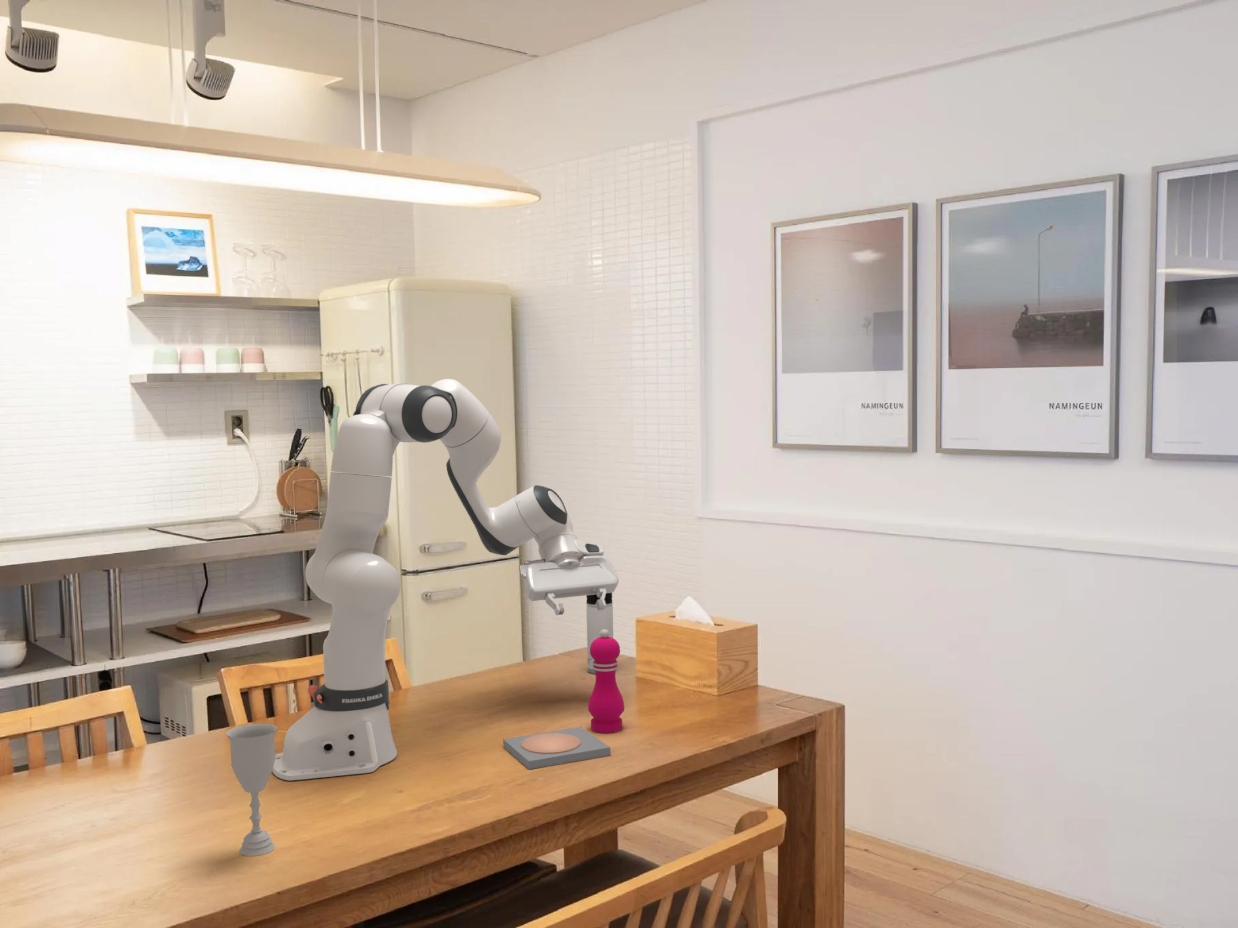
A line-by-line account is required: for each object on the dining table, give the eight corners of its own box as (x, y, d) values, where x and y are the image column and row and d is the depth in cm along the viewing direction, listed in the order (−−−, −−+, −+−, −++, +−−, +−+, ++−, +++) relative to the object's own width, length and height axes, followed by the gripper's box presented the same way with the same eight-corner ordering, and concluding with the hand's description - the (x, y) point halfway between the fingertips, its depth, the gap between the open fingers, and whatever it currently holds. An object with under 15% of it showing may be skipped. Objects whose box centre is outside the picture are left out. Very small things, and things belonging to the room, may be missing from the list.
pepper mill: (624, 733, 215) (622, 633, 214) (587, 734, 215) (585, 633, 214) (625, 722, 222) (623, 625, 221) (589, 723, 222) (587, 625, 221)
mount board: (529, 769, 196) (528, 759, 196) (503, 746, 208) (503, 737, 208) (610, 755, 203) (610, 745, 202) (580, 734, 215) (580, 725, 215)
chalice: (287, 838, 167) (283, 722, 166) (275, 857, 161) (270, 737, 159) (239, 840, 167) (234, 724, 166) (224, 859, 160) (219, 738, 159)
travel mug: (583, 674, 261) (582, 590, 259) (592, 667, 267) (590, 585, 266) (609, 675, 259) (607, 591, 257) (617, 668, 265) (615, 586, 264)
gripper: (520, 552, 229) (538, 607, 221) (609, 545, 238) (629, 597, 230) (513, 570, 234) (530, 624, 225) (601, 562, 242) (621, 614, 234)
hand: (581, 610), depth 228 cm, fingers open, 8 cm apart
